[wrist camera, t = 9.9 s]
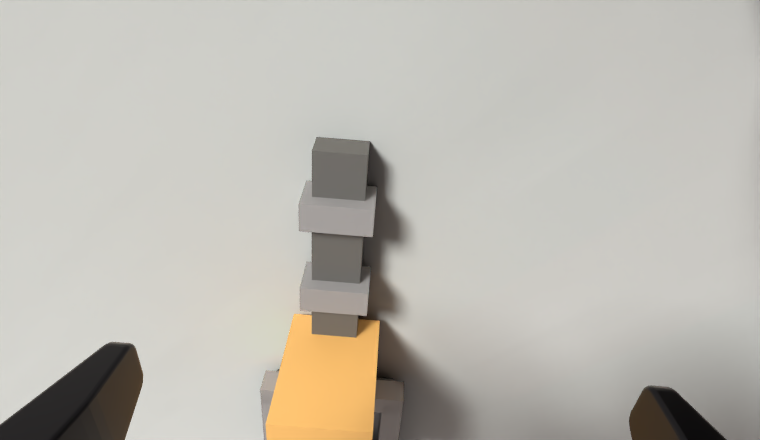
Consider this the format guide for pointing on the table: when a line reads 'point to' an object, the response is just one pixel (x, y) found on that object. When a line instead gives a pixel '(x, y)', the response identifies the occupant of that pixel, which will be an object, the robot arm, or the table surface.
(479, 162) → the table surface
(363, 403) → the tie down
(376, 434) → the keeper
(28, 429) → the robot arm
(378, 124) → the table surface
